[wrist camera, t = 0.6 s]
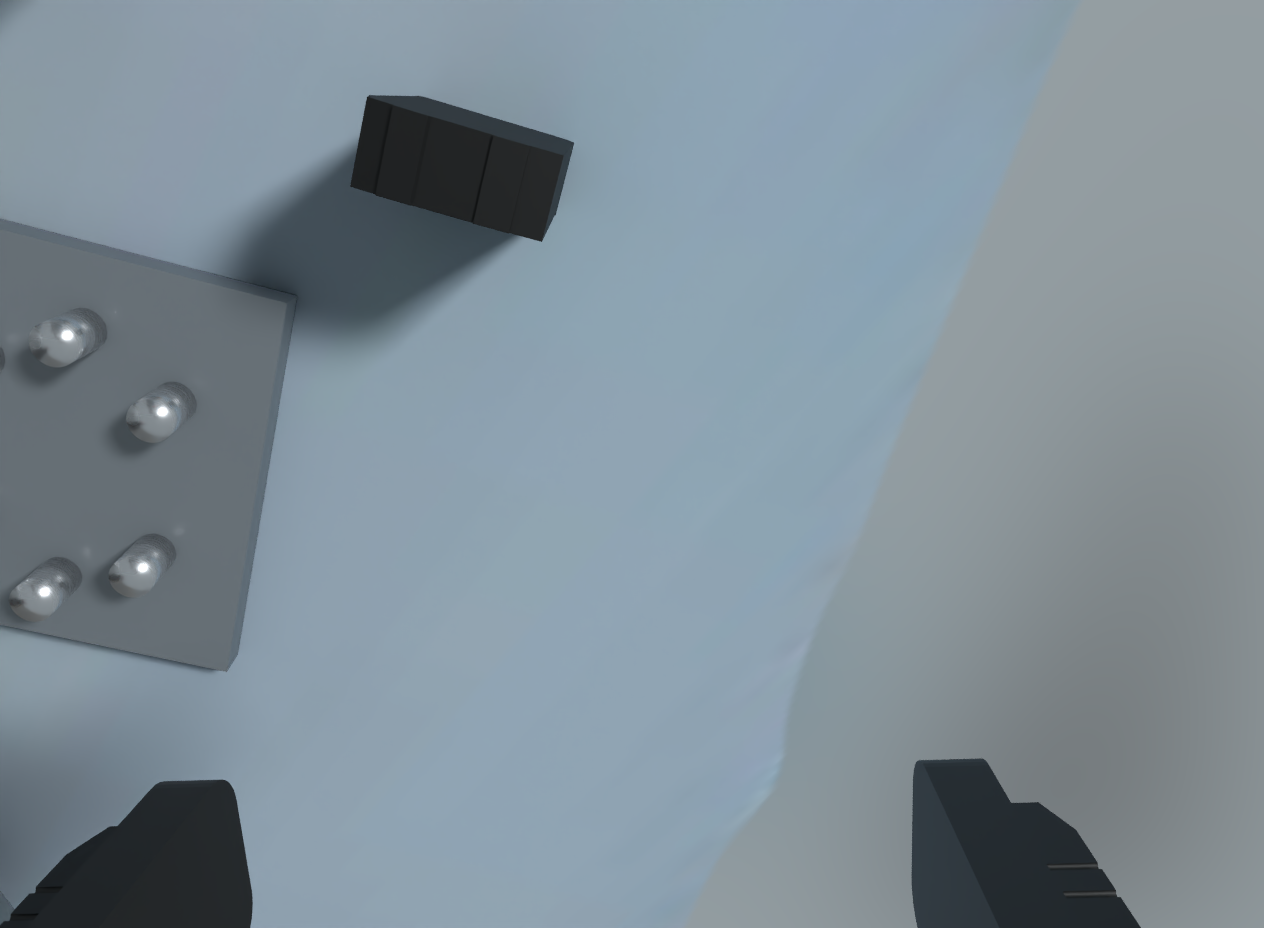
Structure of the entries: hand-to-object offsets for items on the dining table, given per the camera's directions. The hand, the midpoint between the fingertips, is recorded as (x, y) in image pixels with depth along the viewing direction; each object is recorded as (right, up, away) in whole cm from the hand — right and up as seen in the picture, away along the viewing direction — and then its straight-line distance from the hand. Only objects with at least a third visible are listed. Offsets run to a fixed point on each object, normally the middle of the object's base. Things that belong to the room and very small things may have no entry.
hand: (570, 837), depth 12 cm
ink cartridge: (-4, +14, +20) cm, 25 cm away
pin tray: (-18, +5, +23) cm, 29 cm away
